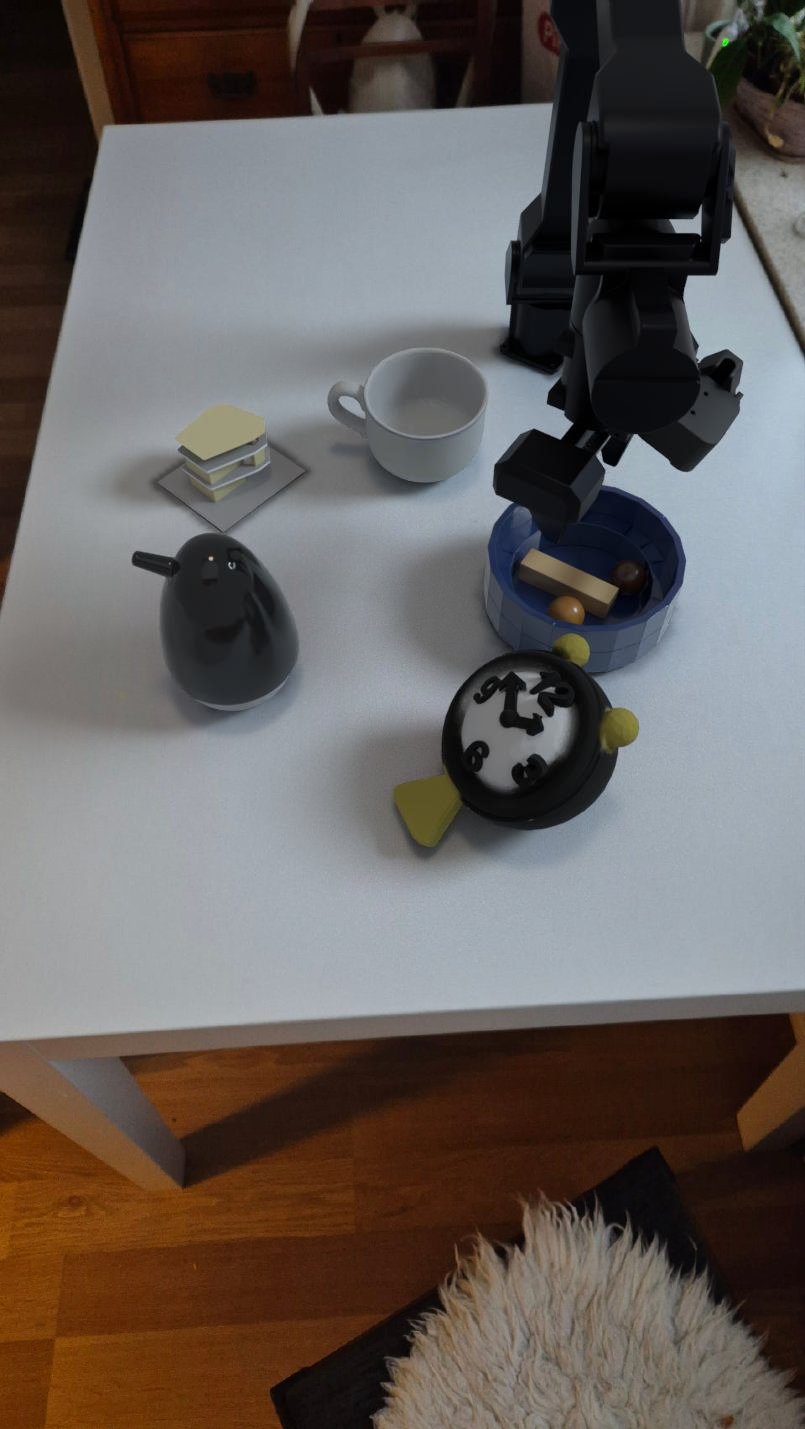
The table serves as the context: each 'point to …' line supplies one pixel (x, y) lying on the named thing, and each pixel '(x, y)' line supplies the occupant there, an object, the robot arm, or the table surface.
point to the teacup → (418, 412)
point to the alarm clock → (522, 745)
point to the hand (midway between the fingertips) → (582, 501)
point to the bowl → (594, 548)
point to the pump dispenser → (223, 622)
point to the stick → (568, 582)
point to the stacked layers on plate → (228, 466)
